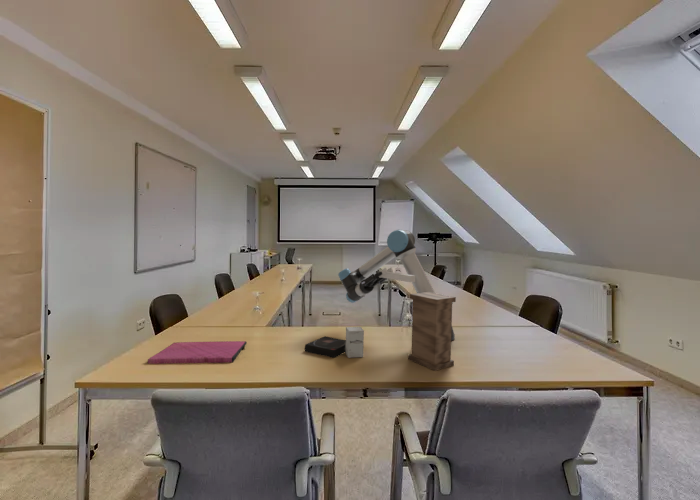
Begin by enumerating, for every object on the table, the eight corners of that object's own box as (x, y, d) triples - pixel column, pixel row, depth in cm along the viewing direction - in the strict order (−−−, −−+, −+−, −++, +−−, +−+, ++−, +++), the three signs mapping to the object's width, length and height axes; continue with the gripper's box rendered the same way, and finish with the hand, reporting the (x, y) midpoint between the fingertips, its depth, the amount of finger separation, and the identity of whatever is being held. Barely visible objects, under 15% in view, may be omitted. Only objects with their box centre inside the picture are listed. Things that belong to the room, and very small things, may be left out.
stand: (426, 354, 167) (428, 292, 166) (453, 365, 154) (455, 297, 153) (408, 359, 160) (409, 294, 159) (434, 370, 147) (436, 299, 146)
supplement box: (347, 358, 161) (348, 330, 160) (345, 352, 168) (345, 326, 167) (363, 357, 162) (364, 330, 161) (360, 352, 169) (360, 326, 169)
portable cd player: (323, 343, 183) (324, 336, 183) (352, 349, 175) (352, 341, 174) (304, 352, 169) (304, 344, 169) (334, 359, 160) (334, 350, 160)
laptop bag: (146, 355, 150) (173, 338, 177) (146, 365, 150) (173, 346, 177) (242, 354, 153) (254, 337, 180) (242, 363, 153) (254, 345, 180)
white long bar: (380, 276, 188) (380, 270, 187) (415, 281, 166) (415, 275, 166) (375, 276, 186) (375, 270, 186) (410, 282, 164) (410, 275, 164)
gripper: (377, 292, 200) (403, 275, 182) (354, 295, 191) (378, 277, 173) (373, 280, 203) (398, 262, 185) (351, 282, 193) (374, 263, 176)
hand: (388, 269), depth 179 cm, fingers closed on white long bar, 3 cm apart
